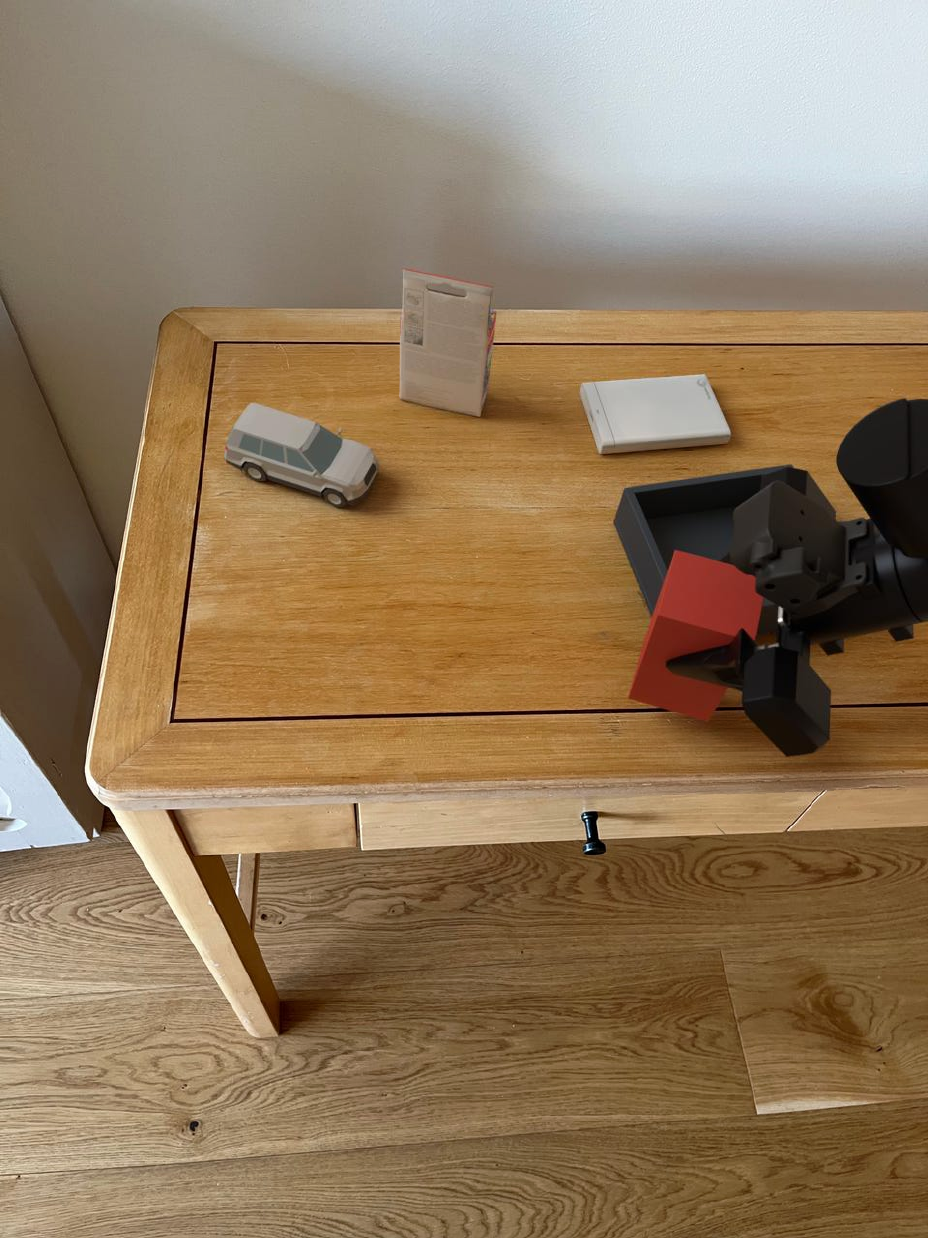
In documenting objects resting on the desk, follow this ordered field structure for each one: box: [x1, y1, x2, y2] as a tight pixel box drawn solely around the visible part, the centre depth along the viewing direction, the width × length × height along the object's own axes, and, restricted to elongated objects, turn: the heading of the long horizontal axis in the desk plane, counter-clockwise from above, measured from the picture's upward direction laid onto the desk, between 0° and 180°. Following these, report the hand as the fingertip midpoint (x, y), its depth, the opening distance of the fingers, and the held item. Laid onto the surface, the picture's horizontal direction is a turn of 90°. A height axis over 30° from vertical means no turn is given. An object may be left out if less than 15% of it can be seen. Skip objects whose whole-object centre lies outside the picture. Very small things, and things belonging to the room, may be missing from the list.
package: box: [627, 550, 764, 723], centre depth 63 cm, size 6×5×13 cm
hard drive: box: [579, 373, 732, 455], centre depth 88 cm, size 2×8×12 cm
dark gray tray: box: [613, 463, 795, 636], centre depth 77 cm, size 15×13×5 cm
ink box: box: [399, 267, 497, 418], centre depth 82 cm, size 4×8×15 cm, turn 77°
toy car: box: [223, 401, 380, 508], centre depth 80 cm, size 6×13×5 cm, turn 70°
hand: (673, 631), depth 63 cm, fingers closed on package, 5 cm apart
